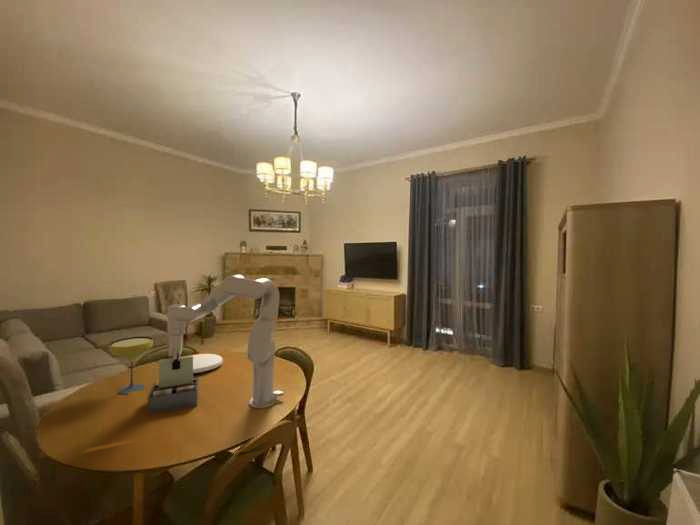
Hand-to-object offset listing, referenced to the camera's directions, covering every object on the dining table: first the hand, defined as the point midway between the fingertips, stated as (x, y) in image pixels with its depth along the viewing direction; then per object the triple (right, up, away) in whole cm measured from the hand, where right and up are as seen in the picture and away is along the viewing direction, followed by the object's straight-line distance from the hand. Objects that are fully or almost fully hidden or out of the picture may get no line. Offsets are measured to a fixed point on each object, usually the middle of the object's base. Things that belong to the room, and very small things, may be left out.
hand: (176, 368), depth 138 cm
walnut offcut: (+7, -15, -5) cm, 17 cm away
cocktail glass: (-29, -15, +10) cm, 35 cm away
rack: (+1, -16, -3) cm, 16 cm away
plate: (-10, -15, +40) cm, 44 cm away
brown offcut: (-1, -15, -9) cm, 17 cm away
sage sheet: (0, -13, 0) cm, 13 cm away
